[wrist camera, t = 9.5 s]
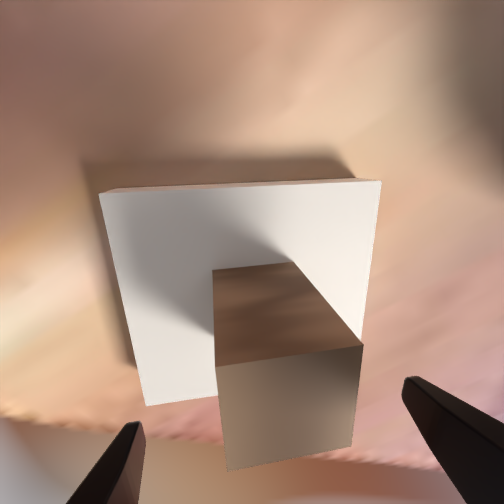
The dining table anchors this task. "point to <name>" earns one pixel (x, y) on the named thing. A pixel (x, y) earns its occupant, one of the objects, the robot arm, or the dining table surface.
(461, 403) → the robot arm
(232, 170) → the dining table surface
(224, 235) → the base block
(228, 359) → the walnut block
